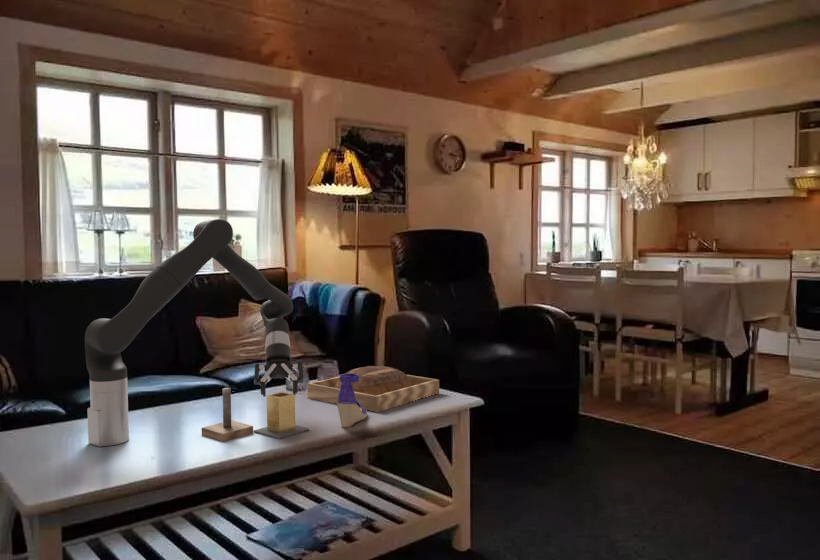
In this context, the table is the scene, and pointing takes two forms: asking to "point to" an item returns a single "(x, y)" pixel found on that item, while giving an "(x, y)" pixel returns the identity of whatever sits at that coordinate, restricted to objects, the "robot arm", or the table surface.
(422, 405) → the table surface
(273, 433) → the mat
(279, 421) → the sleeve
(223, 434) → the peg stand
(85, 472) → the table surface
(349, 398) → the purple wedge sandal
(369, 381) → the bread
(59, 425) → the table surface
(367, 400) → the bread tray
